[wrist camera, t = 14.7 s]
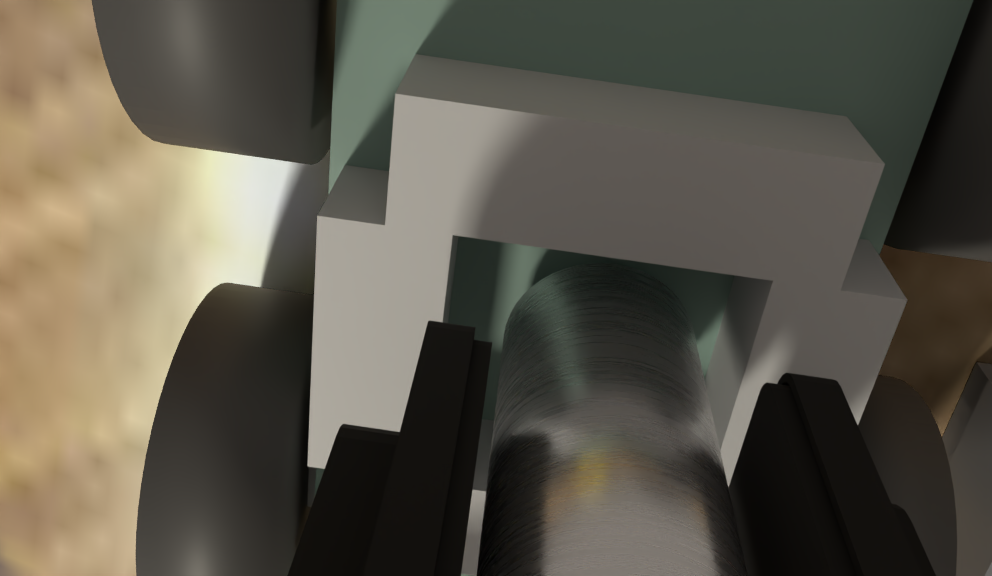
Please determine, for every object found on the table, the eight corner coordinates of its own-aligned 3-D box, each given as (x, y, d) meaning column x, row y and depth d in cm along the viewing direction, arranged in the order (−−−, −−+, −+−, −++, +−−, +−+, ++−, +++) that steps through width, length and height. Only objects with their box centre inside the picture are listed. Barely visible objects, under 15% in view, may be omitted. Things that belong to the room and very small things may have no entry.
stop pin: (783, 238, 12) (1102, 945, 5) (708, 479, 14) (856, 1239, 7) (469, 192, 12) (323, 833, 5) (438, 441, 14) (300, 1161, 7)
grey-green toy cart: (1077, -215, 14) (2161, -166, 4) (788, 545, 21) (966, 1162, 12) (252, -337, 14) (-412, -550, 4) (251, 469, 21) (3, 1032, 12)
